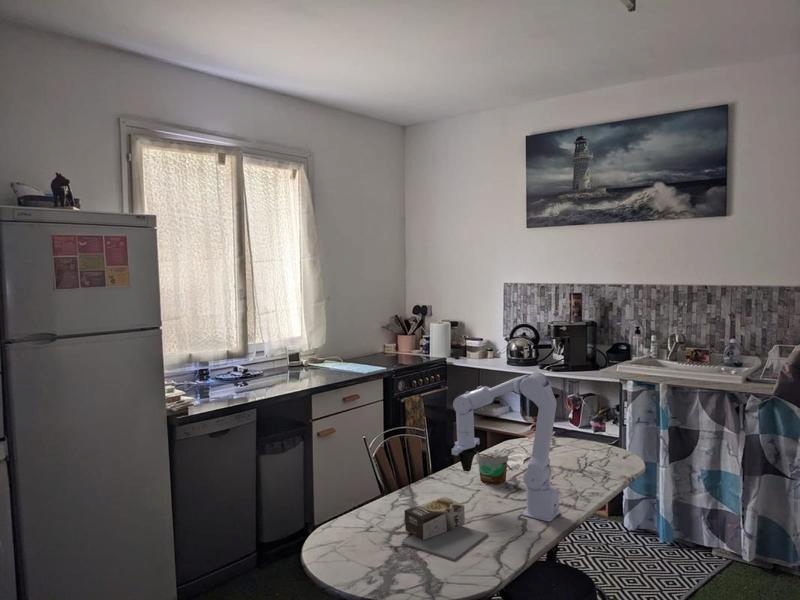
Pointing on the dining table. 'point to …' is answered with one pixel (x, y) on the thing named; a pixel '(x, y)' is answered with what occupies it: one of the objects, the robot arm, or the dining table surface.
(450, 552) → the mat
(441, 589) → the dining table surface
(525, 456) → the cloth
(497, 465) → the food container
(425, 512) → the coffee box
